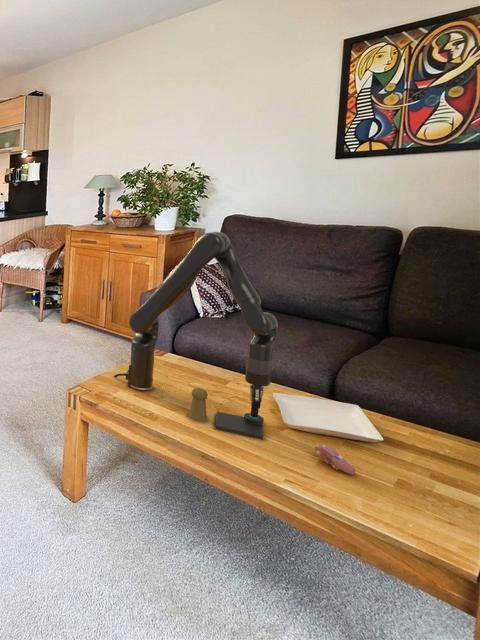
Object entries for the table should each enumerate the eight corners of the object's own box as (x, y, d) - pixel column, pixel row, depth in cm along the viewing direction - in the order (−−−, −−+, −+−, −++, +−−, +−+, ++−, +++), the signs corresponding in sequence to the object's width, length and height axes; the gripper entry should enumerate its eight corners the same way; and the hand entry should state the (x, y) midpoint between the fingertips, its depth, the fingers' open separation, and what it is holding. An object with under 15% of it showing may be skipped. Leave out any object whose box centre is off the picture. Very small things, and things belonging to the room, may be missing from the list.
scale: (215, 429, 165) (216, 421, 165) (216, 413, 176) (217, 406, 176) (264, 440, 158) (264, 432, 158) (262, 423, 169) (263, 415, 169)
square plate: (356, 413, 176) (358, 403, 176) (383, 450, 152) (385, 439, 151) (271, 399, 188) (272, 390, 187) (283, 432, 163) (284, 421, 162)
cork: (203, 414, 176) (205, 386, 174) (209, 422, 170) (212, 393, 168) (186, 413, 176) (188, 385, 175) (192, 421, 170) (194, 392, 169)
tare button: (248, 421, 167) (249, 416, 167) (248, 417, 170) (248, 413, 170) (258, 423, 166) (259, 419, 165) (258, 419, 168) (258, 415, 168)
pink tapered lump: (317, 461, 148) (309, 443, 147) (330, 455, 148) (322, 437, 147) (344, 481, 139) (336, 462, 138) (358, 474, 139) (350, 455, 138)
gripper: (245, 361, 172) (241, 406, 175) (246, 374, 161) (242, 421, 164) (270, 365, 169) (265, 410, 171) (272, 378, 157) (267, 427, 160)
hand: (254, 416), depth 167 cm, fingers closed
